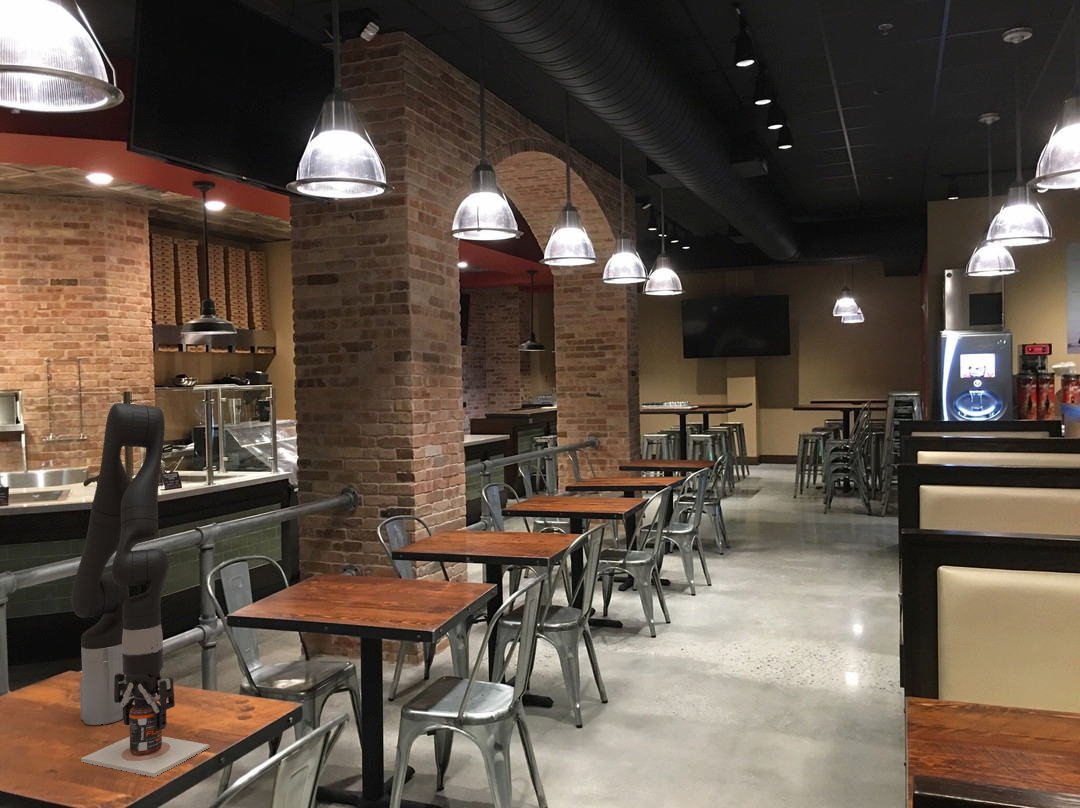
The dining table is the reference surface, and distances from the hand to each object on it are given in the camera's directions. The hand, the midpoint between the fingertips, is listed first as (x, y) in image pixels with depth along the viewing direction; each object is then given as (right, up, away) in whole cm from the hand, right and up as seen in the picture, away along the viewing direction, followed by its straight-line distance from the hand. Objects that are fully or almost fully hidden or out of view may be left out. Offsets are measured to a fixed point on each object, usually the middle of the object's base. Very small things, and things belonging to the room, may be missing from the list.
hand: (144, 726), depth 171 cm
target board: (0, -6, 0) cm, 6 cm away
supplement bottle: (0, -5, 0) cm, 5 cm away
